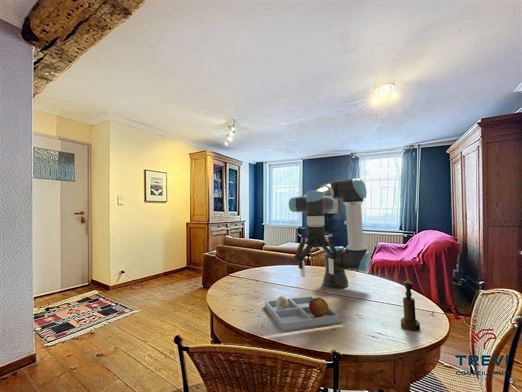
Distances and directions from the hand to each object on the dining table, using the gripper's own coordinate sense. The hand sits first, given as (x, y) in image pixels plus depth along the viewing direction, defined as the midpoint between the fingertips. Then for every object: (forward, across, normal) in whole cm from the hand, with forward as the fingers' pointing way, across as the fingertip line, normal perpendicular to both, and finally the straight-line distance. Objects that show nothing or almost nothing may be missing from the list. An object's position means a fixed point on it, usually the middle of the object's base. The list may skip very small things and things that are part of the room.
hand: (317, 275), depth 108 cm
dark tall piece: (+19, -31, +18) cm, 40 cm away
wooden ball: (+18, +12, -12) cm, 24 cm away
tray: (+19, +6, -6) cm, 20 cm away
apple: (+18, 0, 0) cm, 18 cm away
